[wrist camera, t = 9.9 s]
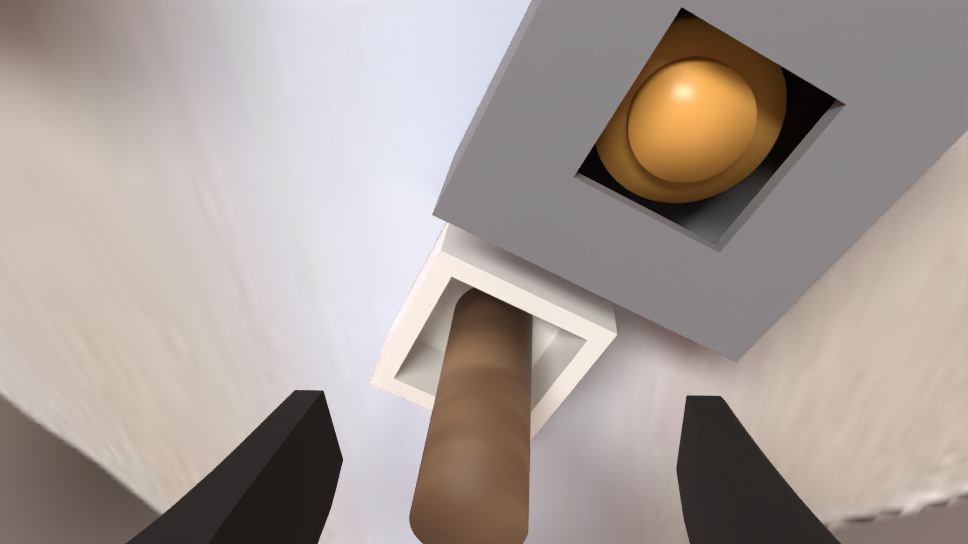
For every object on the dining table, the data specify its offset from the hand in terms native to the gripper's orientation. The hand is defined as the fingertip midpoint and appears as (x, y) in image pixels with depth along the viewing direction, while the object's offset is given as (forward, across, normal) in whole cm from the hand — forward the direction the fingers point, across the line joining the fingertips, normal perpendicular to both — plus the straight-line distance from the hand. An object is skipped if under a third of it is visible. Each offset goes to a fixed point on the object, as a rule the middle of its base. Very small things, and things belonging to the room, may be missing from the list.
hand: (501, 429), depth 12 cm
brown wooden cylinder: (+10, +1, +4) cm, 11 cm away
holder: (+10, +1, +4) cm, 11 cm away
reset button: (+8, -5, -4) cm, 10 cm away
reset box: (+10, -5, -4) cm, 12 cm away
